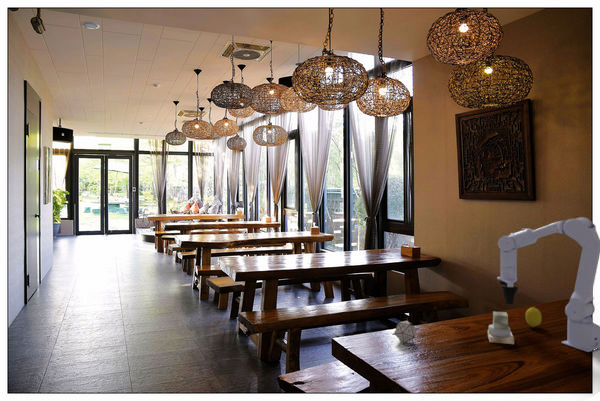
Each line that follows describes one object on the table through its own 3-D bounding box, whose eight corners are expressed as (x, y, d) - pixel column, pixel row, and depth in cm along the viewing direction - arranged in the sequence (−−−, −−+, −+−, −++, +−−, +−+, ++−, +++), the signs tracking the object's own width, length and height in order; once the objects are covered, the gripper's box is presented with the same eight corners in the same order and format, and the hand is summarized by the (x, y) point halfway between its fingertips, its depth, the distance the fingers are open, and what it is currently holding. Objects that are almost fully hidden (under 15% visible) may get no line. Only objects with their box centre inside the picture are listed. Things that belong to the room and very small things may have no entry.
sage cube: (506, 325, 163) (506, 312, 162) (507, 330, 158) (507, 316, 158) (492, 324, 164) (493, 311, 164) (494, 328, 160) (494, 315, 160)
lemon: (544, 329, 171) (544, 308, 170) (529, 329, 171) (529, 309, 170) (536, 324, 176) (537, 304, 176) (522, 325, 176) (522, 305, 176)
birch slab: (511, 338, 164) (511, 331, 164) (514, 346, 156) (514, 339, 156) (487, 336, 166) (487, 329, 166) (489, 343, 159) (489, 336, 159)
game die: (401, 353, 159) (384, 332, 158) (406, 338, 166) (390, 317, 165) (421, 346, 154) (404, 324, 153) (426, 330, 160) (409, 309, 160)
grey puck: (507, 331, 164) (507, 324, 164) (512, 338, 157) (512, 331, 157) (486, 330, 166) (486, 323, 166) (490, 337, 159) (490, 330, 158)
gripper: (495, 262, 180) (495, 296, 181) (498, 269, 167) (498, 305, 167) (515, 263, 178) (514, 297, 179) (519, 270, 164) (519, 307, 165)
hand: (508, 301), depth 173 cm, fingers open, 7 cm apart
